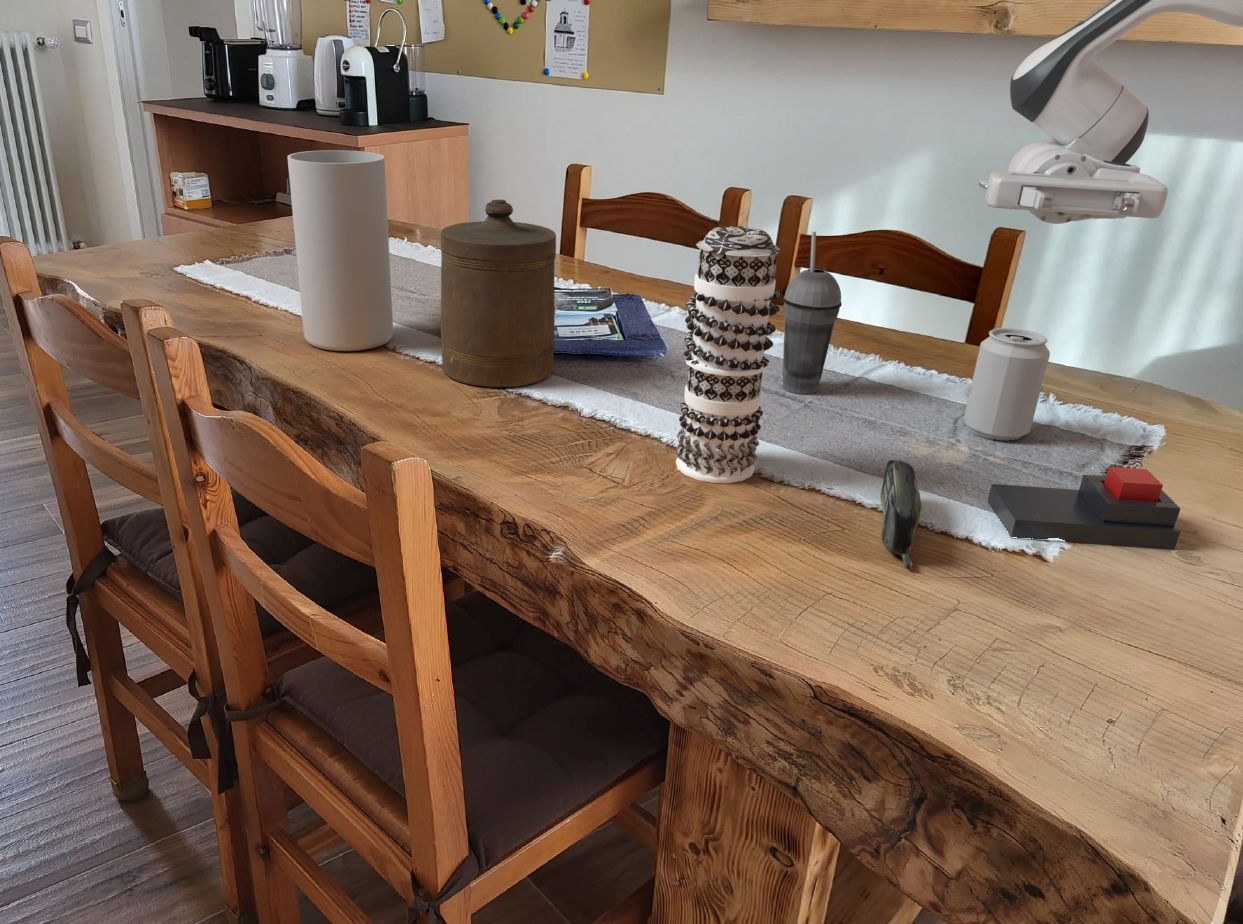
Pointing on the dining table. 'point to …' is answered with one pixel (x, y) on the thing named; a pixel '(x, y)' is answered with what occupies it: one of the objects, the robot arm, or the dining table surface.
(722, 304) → the decorative candle
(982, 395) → the can
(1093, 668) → the dining table surface
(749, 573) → the dining table surface
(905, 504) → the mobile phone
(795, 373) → the beverage cup
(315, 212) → the cylinder vase
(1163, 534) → the dark grey stepped block
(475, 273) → the wooden container
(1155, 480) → the red rectangular button
